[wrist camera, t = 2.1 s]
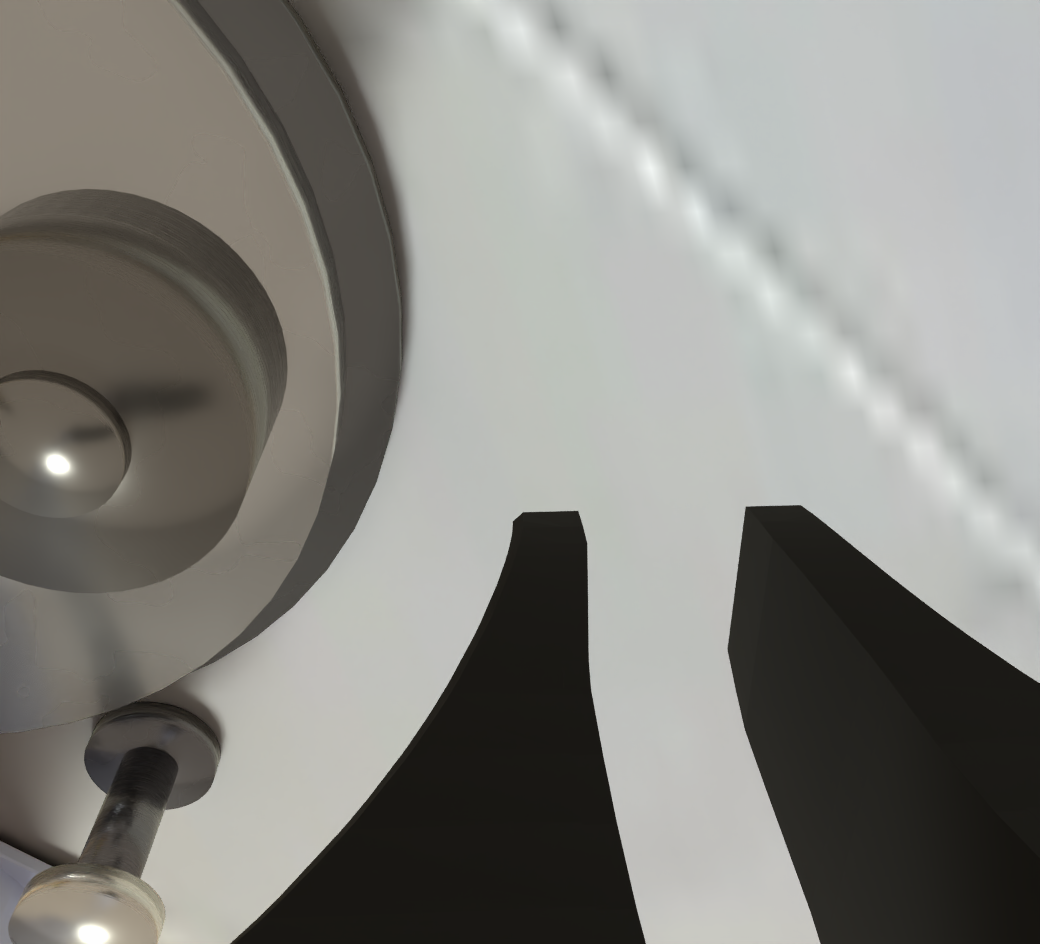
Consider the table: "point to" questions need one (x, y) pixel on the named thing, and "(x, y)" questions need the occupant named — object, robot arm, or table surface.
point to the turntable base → (359, 263)
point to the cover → (126, 390)
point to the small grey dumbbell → (121, 830)
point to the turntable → (263, 247)
